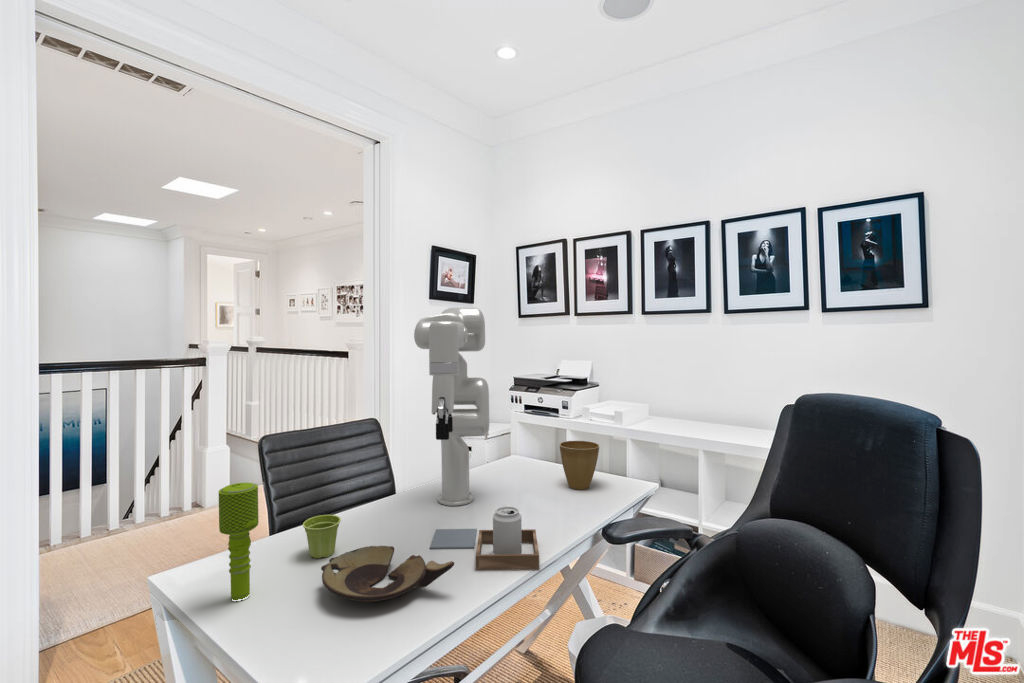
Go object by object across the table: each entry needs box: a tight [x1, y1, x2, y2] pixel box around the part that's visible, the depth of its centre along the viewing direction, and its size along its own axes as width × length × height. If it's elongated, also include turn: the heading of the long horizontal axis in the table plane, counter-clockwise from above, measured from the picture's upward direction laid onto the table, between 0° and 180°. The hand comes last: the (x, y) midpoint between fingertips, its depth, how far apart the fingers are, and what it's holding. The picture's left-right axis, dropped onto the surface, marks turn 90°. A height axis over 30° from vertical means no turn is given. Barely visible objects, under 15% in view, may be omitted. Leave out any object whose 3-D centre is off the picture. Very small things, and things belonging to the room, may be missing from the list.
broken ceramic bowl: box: [320, 545, 455, 602], centre depth 110 cm, size 22×30×8 cm
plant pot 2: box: [559, 440, 600, 491], centre depth 182 cm, size 15×15×16 cm
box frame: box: [475, 528, 540, 571], centre depth 127 cm, size 16×16×4 cm
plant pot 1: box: [302, 514, 342, 559], centre depth 129 cm, size 9×9×9 cm
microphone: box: [218, 482, 259, 600], centre depth 108 cm, size 8×8×25 cm
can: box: [492, 505, 523, 554], centre depth 127 cm, size 8×8×12 cm
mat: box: [429, 528, 478, 550], centre depth 137 cm, size 12×12×1 cm
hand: (444, 435), depth 125 cm, fingers open, 9 cm apart
